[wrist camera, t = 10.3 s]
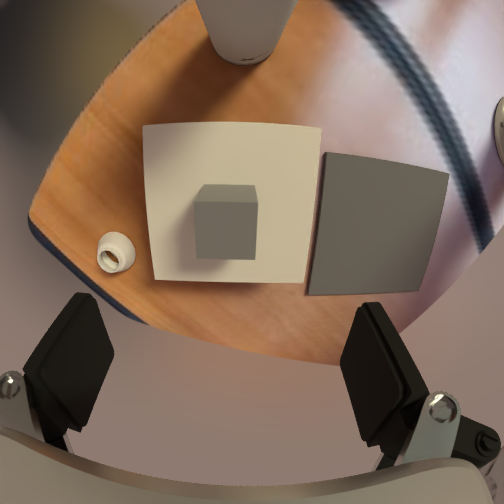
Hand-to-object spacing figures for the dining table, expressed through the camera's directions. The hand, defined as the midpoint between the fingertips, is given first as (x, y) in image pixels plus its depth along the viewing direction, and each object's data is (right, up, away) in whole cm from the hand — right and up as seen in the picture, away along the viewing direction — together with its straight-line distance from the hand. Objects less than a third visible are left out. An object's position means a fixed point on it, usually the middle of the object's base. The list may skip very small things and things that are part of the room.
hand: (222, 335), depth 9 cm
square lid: (-1, +7, +14) cm, 15 cm away
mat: (+17, +5, +21) cm, 28 cm away
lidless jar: (-15, +3, +22) cm, 27 cm away
